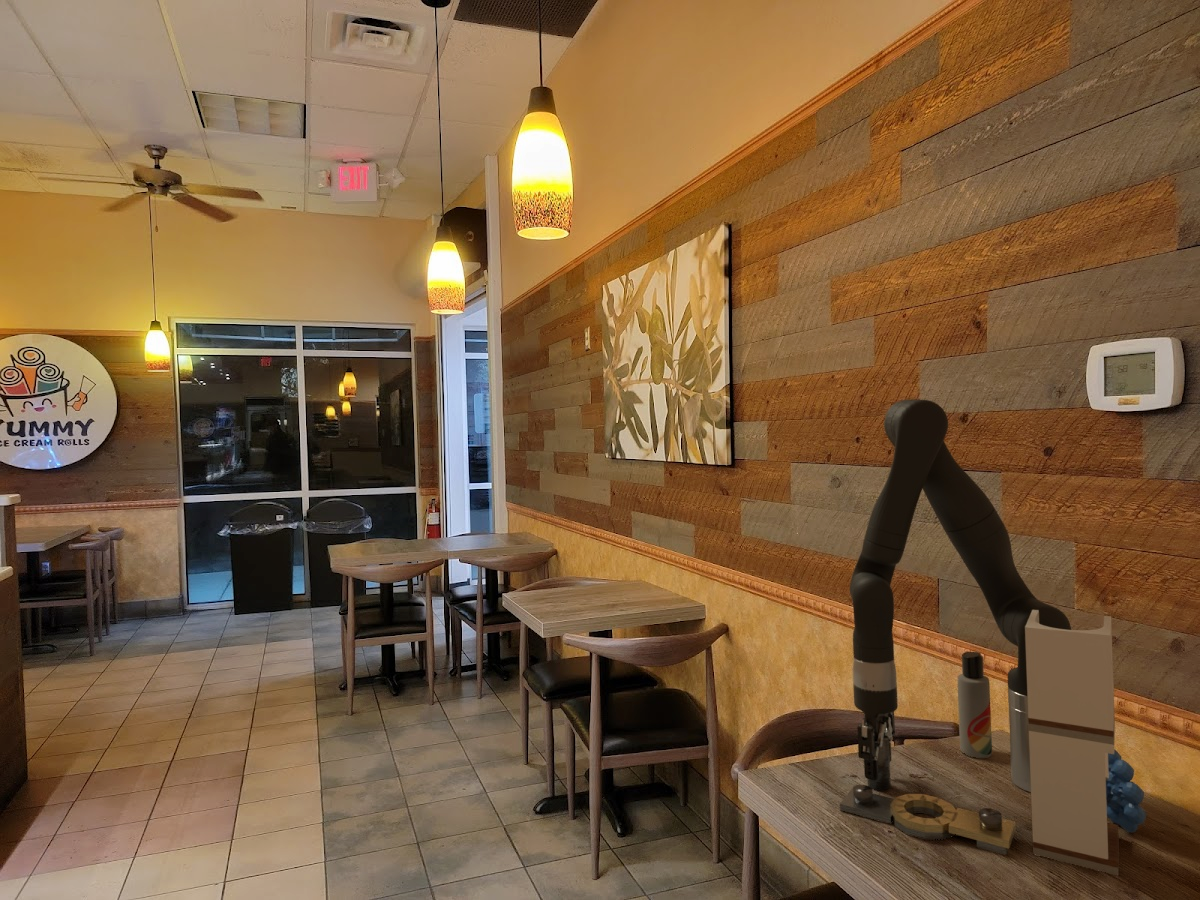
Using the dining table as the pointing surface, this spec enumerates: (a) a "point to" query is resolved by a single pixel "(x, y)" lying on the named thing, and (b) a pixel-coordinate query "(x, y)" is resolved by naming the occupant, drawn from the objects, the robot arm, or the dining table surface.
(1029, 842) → the dining table surface
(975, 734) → the lotion bottle
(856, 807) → the tan piece
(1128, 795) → the grapes
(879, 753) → the pin
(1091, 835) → the beige rectangular tower
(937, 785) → the dining table surface
